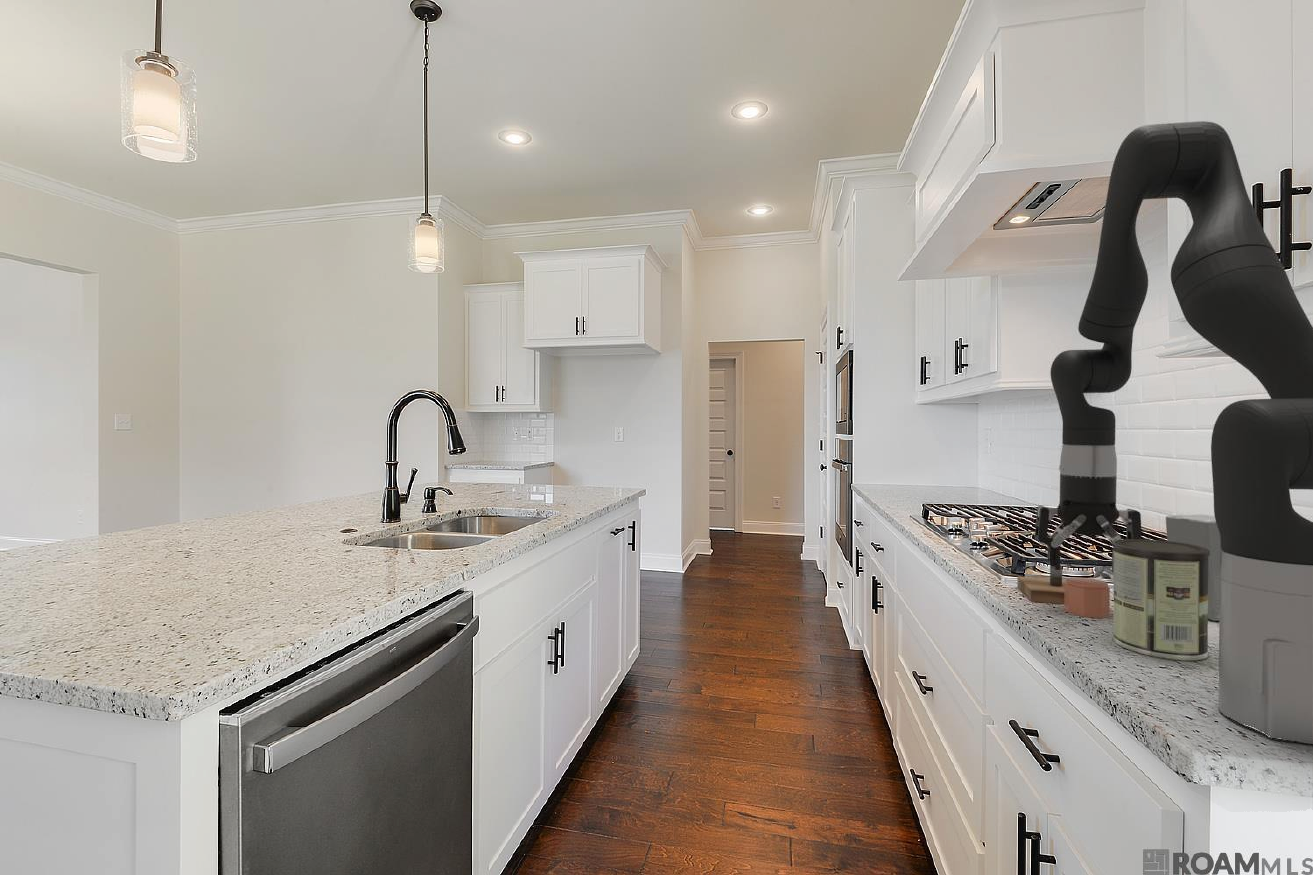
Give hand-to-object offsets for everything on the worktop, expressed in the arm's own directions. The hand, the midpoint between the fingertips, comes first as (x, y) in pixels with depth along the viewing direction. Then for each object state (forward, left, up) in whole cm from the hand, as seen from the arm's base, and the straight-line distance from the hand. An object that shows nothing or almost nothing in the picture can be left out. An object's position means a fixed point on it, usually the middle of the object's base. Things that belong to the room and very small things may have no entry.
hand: (1086, 571), depth 99 cm
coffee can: (-15, -4, -7) cm, 17 cm away
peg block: (+9, +2, -7) cm, 11 cm away
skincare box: (+5, -18, -7) cm, 20 cm away
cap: (0, 0, -7) cm, 7 cm away
